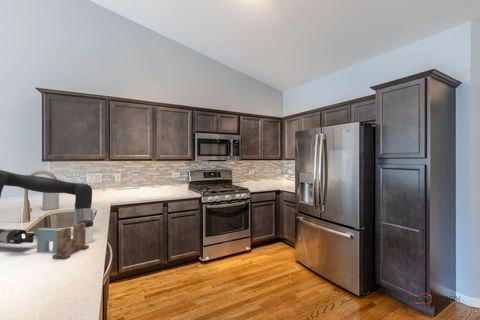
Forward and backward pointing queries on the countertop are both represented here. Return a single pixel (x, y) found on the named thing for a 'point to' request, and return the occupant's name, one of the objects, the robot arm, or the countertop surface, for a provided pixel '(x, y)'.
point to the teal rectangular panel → (46, 239)
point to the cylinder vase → (50, 201)
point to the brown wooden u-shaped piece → (70, 241)
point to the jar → (88, 230)
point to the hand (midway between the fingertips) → (40, 237)
